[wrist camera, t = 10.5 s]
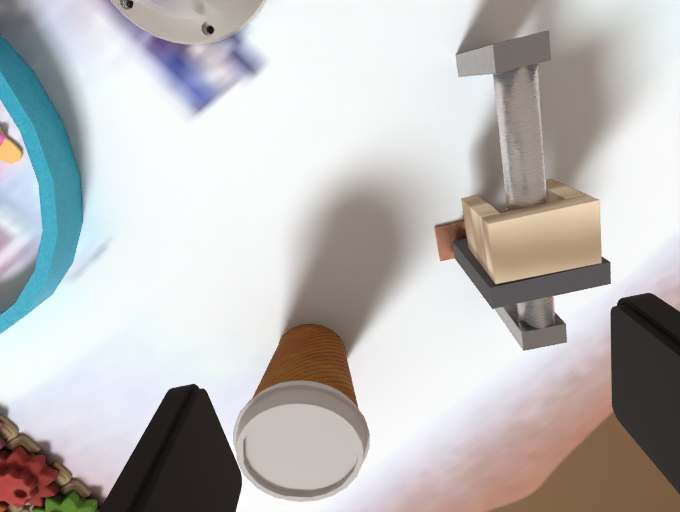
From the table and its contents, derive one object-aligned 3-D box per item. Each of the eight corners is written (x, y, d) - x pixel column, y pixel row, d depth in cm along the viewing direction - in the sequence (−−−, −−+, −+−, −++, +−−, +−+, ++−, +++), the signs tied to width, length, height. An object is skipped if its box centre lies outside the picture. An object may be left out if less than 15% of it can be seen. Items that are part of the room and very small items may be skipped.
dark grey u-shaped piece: (452, 241, 36) (490, 288, 27) (543, 220, 35) (610, 262, 27) (454, 258, 36) (492, 308, 28) (544, 238, 36) (610, 283, 27)
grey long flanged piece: (407, 67, 32) (429, 60, 24) (547, 31, 31) (616, 13, 23) (447, 306, 39) (474, 360, 31) (562, 282, 38) (618, 332, 30)
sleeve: (461, 198, 32) (488, 224, 26) (550, 178, 32) (599, 200, 25) (468, 248, 34) (495, 284, 27) (553, 230, 33) (601, 263, 27)
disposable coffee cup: (374, 381, 42) (387, 489, 30) (280, 405, 43) (259, 518, 31) (345, 295, 38) (346, 381, 27) (244, 324, 39) (205, 417, 28)
